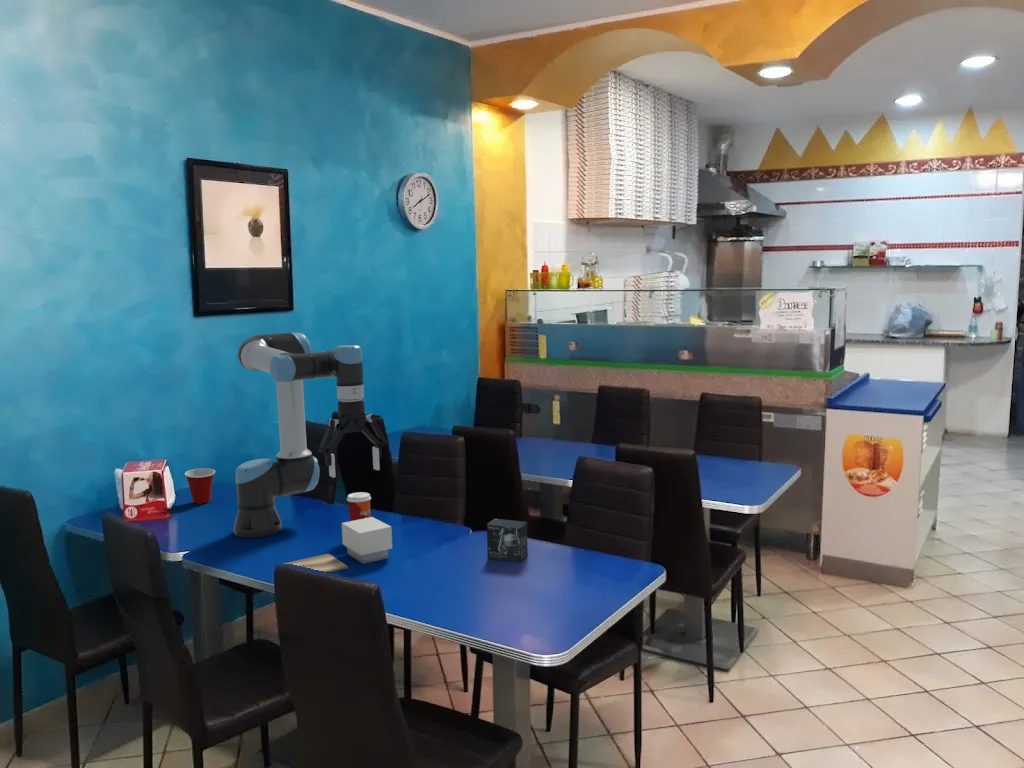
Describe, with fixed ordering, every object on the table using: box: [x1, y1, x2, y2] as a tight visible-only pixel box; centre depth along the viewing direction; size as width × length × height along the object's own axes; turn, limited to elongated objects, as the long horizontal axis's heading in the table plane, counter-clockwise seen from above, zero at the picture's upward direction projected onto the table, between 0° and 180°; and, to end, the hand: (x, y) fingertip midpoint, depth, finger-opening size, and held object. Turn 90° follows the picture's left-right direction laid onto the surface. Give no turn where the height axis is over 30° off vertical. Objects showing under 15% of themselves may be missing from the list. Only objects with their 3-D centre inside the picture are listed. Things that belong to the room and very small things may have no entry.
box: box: [486, 518, 529, 563], centre depth 242 cm, size 11×7×10 cm, turn 68°
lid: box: [341, 516, 393, 555], centre depth 246 cm, size 13×10×7 cm
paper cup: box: [346, 491, 372, 521], centre depth 264 cm, size 8×8×14 cm
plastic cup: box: [184, 468, 216, 505], centre depth 311 cm, size 11×11×12 cm
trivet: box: [283, 553, 349, 574], centre depth 239 cm, size 14×14×1 cm
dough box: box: [346, 547, 389, 565], centre depth 246 cm, size 11×8×9 cm
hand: (354, 473), depth 239 cm, fingers open, 13 cm apart
